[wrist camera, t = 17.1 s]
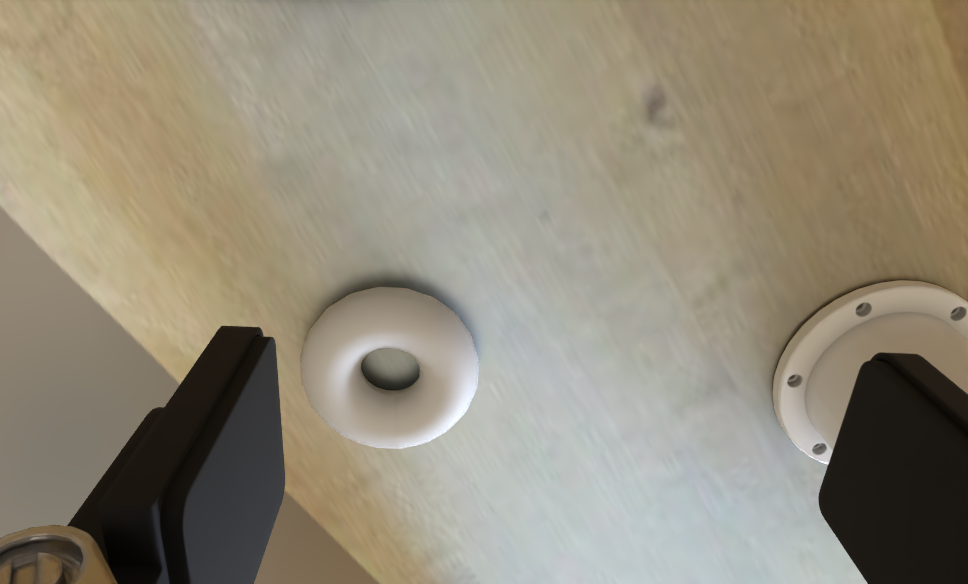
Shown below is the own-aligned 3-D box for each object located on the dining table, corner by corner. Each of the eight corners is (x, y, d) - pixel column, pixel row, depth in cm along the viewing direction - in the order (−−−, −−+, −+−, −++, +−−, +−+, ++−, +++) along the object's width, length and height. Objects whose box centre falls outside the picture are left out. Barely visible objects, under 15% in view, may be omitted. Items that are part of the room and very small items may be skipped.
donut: (434, 248, 38) (273, 317, 39) (433, 272, 35) (258, 346, 36) (504, 390, 42) (356, 448, 43) (508, 423, 39) (348, 485, 40)
